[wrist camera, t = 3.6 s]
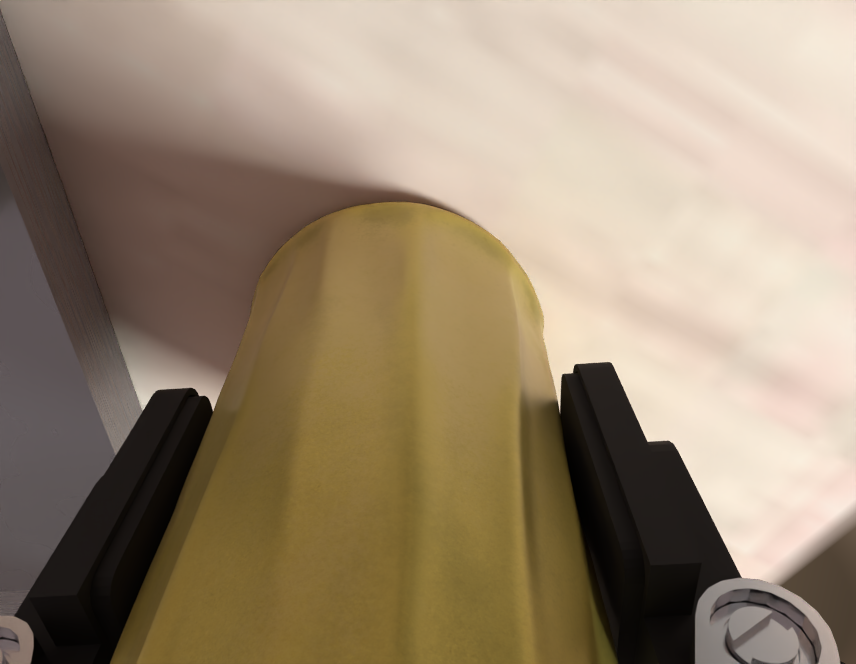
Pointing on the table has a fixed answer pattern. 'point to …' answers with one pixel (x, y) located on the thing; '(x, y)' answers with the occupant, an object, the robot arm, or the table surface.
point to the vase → (380, 468)
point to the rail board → (47, 351)
